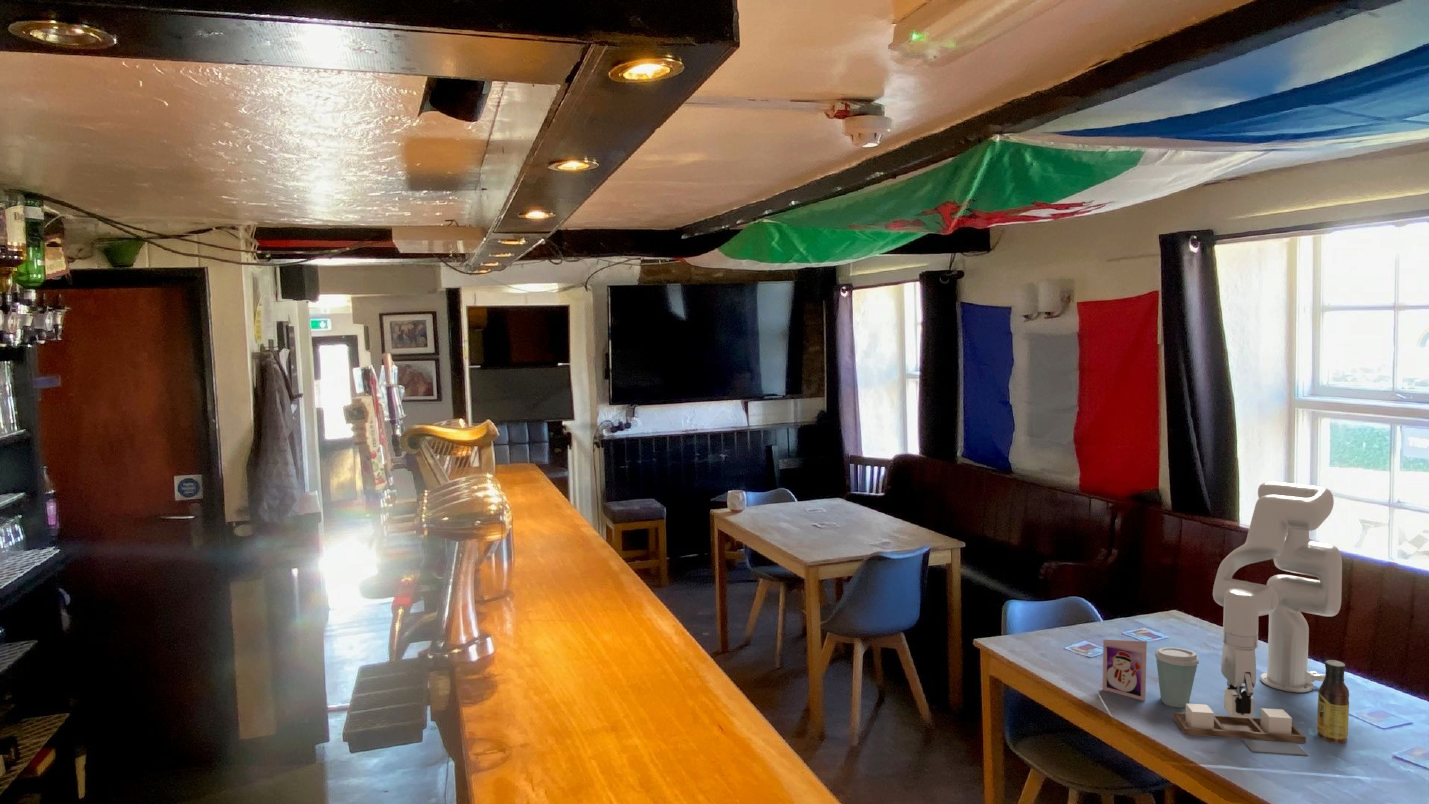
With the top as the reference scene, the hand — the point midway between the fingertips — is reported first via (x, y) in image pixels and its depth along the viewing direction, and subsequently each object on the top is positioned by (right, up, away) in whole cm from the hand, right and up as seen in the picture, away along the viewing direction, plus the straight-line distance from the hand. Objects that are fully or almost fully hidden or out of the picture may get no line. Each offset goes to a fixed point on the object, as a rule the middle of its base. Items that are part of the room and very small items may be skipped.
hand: (1238, 707), depth 219 cm
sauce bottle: (+20, -7, -5) cm, 22 cm away
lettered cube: (0, -1, 0) cm, 2 cm away
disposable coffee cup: (-7, -5, +17) cm, 19 cm away
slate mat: (+3, -7, -10) cm, 12 cm away
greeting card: (-17, -5, +24) cm, 30 cm away
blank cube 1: (-9, -6, +2) cm, 11 cm away
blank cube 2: (+8, -6, -2) cm, 10 cm away
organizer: (0, -6, 0) cm, 6 cm away
